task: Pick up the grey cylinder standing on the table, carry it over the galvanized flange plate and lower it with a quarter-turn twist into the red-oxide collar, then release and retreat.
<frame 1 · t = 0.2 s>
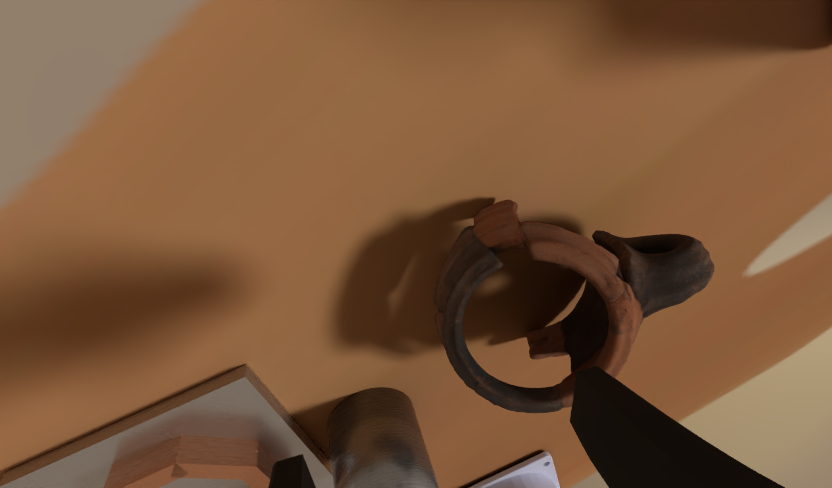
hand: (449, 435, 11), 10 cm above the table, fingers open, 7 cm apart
pottery mug: (530, 260, 23), on the table
grey cylinder: (371, 418, 25), on the table
flange plate: (202, 477, 24), on the table
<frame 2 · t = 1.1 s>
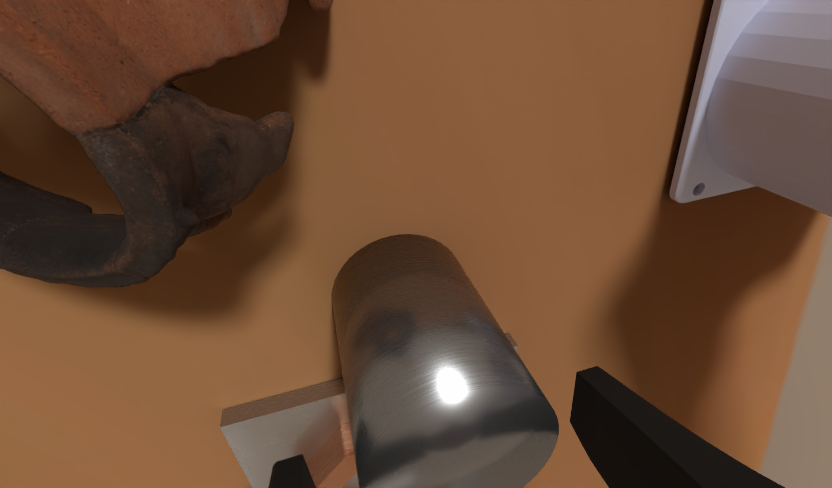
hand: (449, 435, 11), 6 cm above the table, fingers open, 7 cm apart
grey cylinder: (399, 293, 16), on the table
flange plate: (392, 455, 21), on the table
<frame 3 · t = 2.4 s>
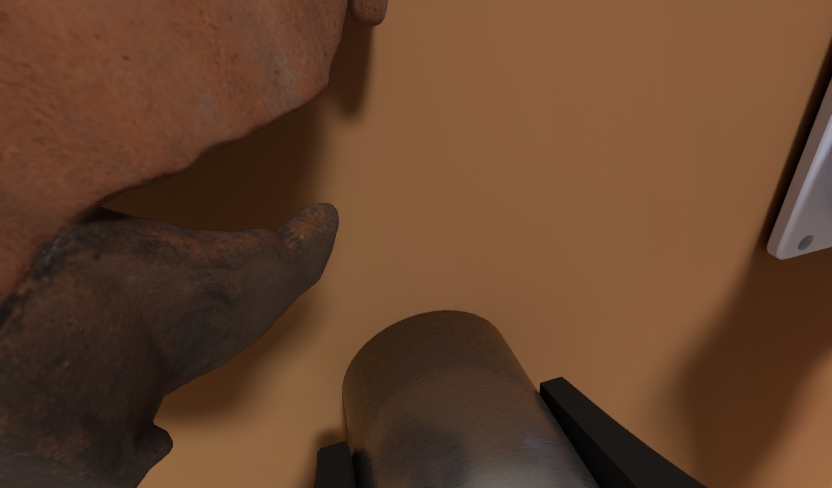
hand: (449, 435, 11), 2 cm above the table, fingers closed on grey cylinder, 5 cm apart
grey cylinder: (428, 379, 13), on the table, touching gripper
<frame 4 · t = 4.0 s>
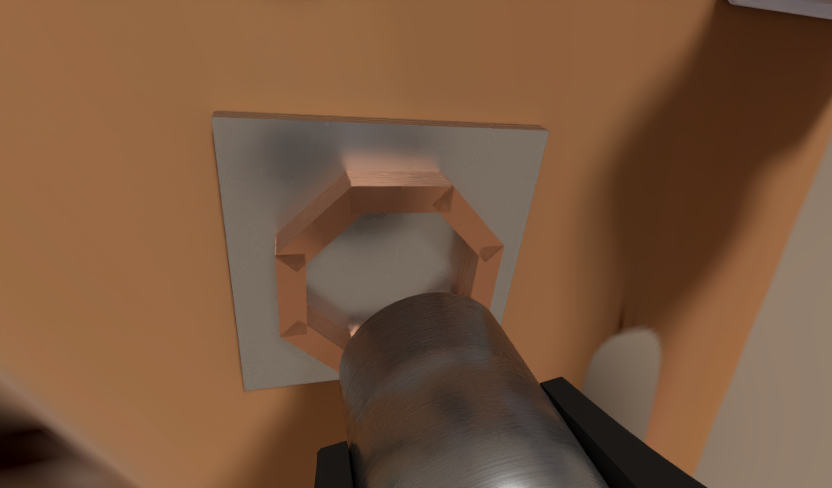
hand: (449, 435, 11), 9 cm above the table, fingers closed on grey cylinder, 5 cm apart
grey cylinder: (423, 362, 13), point 7 cm above the table, touching gripper
flange plate: (382, 259, 19), on the table
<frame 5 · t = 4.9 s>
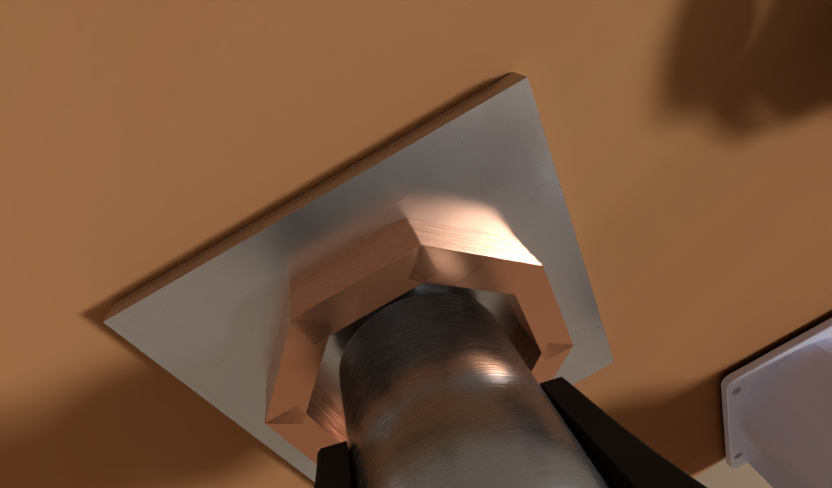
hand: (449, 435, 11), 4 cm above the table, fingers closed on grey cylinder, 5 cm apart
grey cylinder: (423, 362, 13), point 2 cm above the table, touching gripper
flange plate: (410, 330, 14), on the table
when the fingers open (3 cm above the table, at t = 5.5 s): grey cylinder stays where it is, resting on flange plate.
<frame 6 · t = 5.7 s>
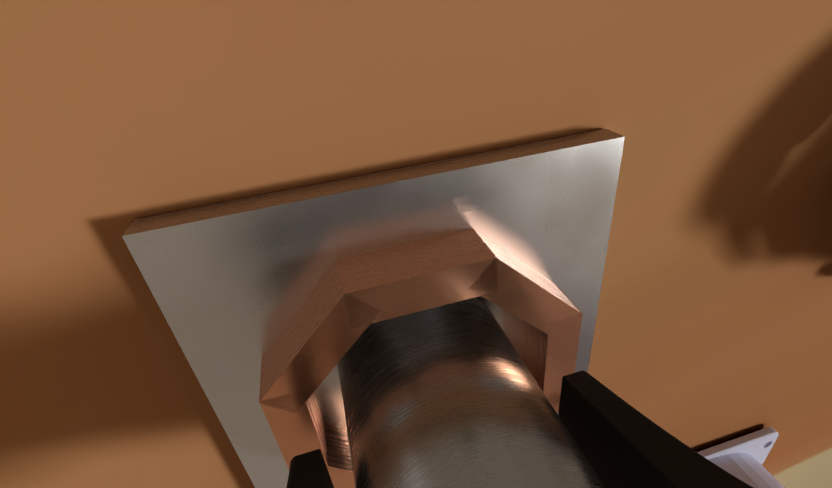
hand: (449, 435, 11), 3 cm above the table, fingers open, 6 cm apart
grey cylinder: (421, 356, 13), point 1 cm above the table, touching flange plate
flange plate: (415, 344, 14), on the table
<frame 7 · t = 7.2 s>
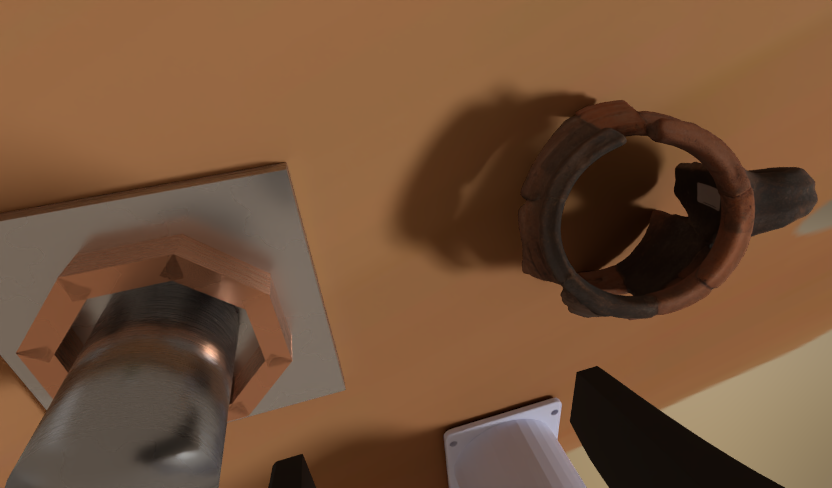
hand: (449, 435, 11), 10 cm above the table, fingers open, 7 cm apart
pottery mug: (603, 188, 21), on the table
grey cylinder: (173, 327, 18), point 1 cm above the table, touching flange plate
flange plate: (179, 319, 18), on the table
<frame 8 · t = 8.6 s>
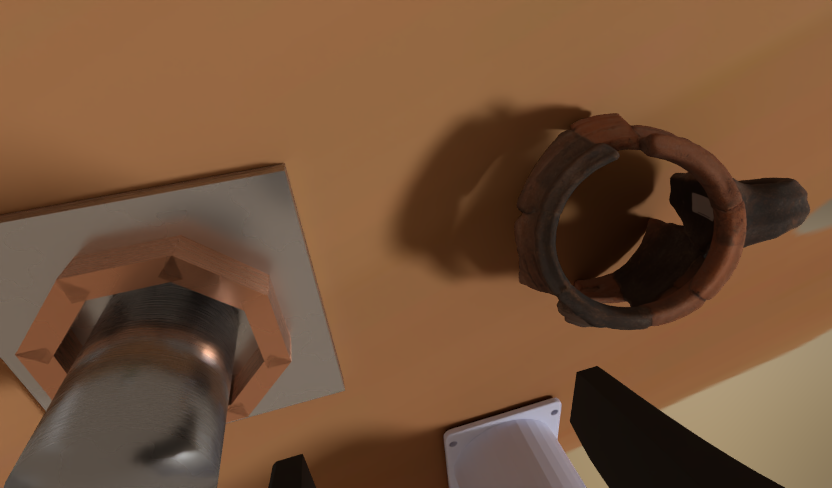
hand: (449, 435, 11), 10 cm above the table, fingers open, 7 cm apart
pottery mug: (599, 198, 22), on the table
grey cylinder: (172, 328, 18), point 1 cm above the table, touching flange plate
flange plate: (179, 320, 19), on the table
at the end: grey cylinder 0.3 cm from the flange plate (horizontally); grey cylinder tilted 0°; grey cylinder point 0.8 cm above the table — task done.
